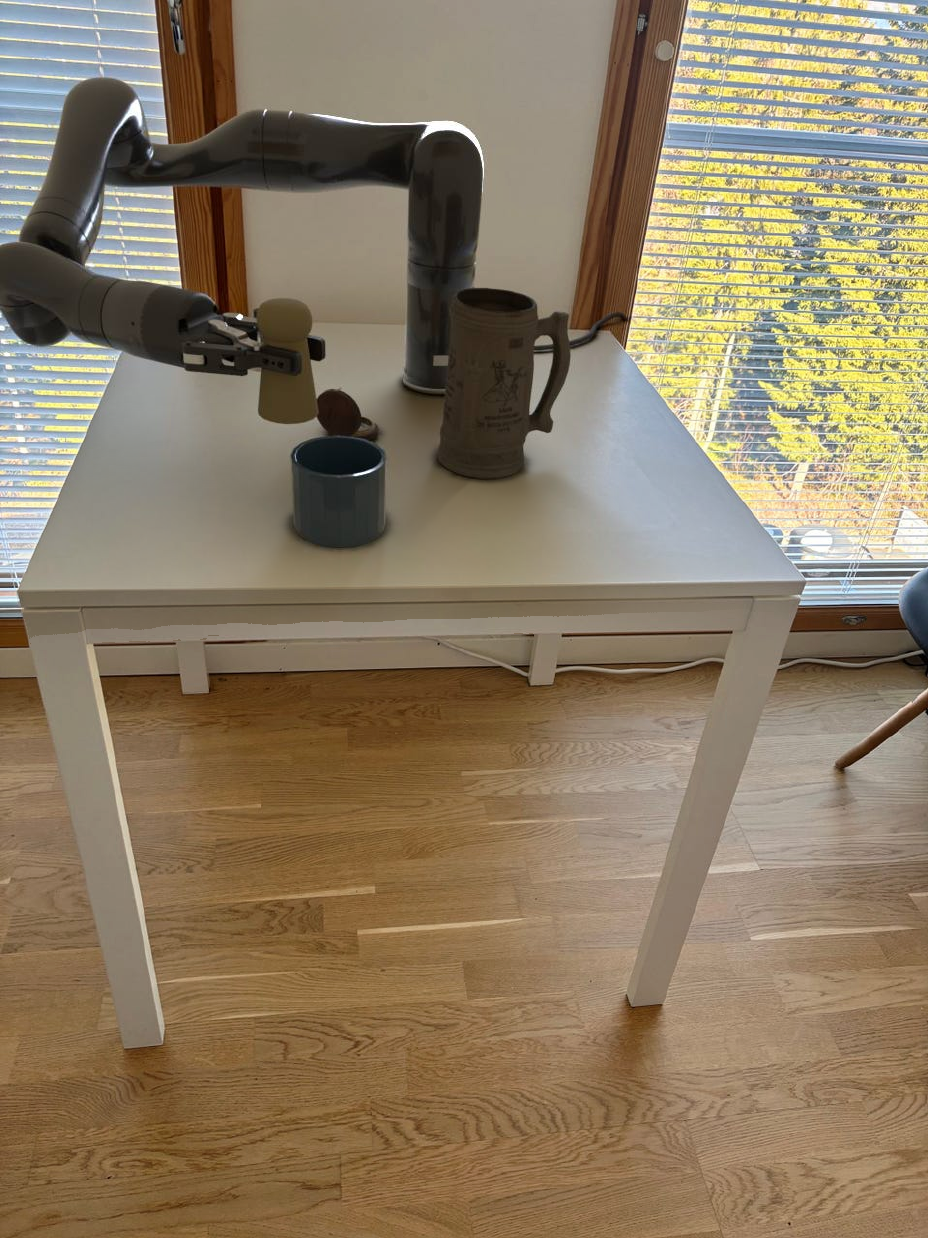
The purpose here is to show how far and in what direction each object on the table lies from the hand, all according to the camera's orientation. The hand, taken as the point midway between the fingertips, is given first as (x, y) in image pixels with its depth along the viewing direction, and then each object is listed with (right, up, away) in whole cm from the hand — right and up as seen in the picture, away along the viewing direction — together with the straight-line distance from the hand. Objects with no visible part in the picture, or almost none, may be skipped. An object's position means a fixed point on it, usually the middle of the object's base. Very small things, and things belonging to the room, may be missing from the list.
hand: (311, 356), depth 87 cm
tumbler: (+1, -15, +10) cm, 18 cm away
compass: (-1, -2, +28) cm, 28 cm away
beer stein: (+19, -5, +26) cm, 32 cm away
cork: (-3, -4, +4) cm, 7 cm away
